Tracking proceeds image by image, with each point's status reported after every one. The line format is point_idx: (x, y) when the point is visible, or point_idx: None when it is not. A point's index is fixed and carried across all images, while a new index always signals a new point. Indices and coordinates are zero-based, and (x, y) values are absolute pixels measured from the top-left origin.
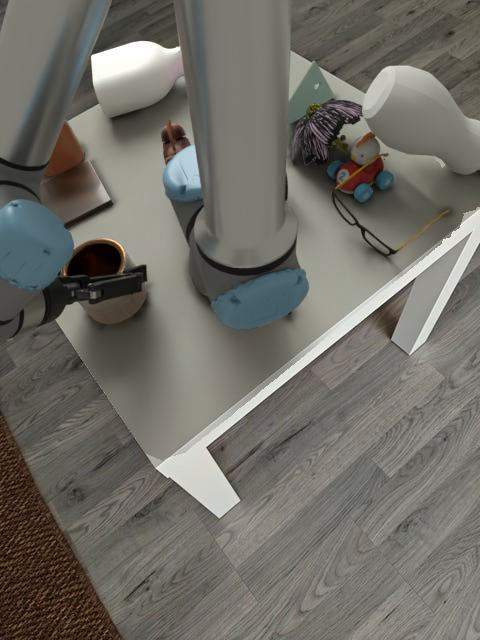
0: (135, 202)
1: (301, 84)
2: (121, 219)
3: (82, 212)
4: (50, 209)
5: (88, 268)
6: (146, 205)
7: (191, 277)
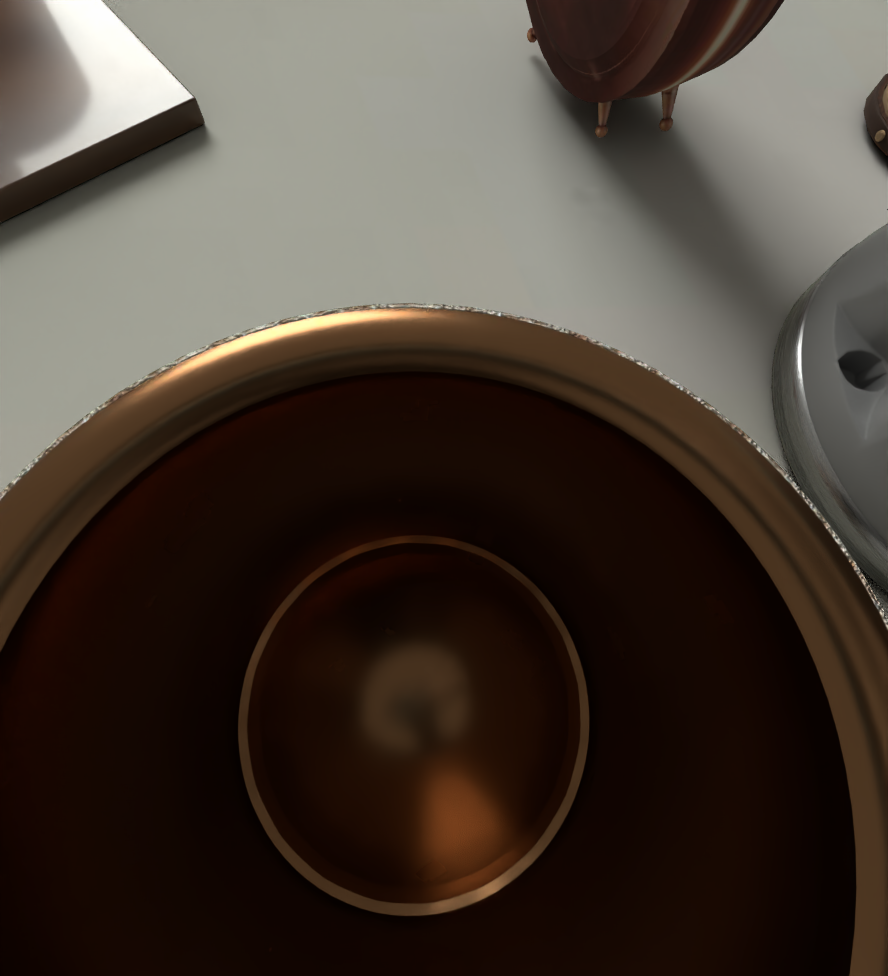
0: (327, 121)
1: None
2: (278, 203)
3: (37, 160)
4: None
5: (208, 594)
6: (390, 136)
7: (882, 537)
